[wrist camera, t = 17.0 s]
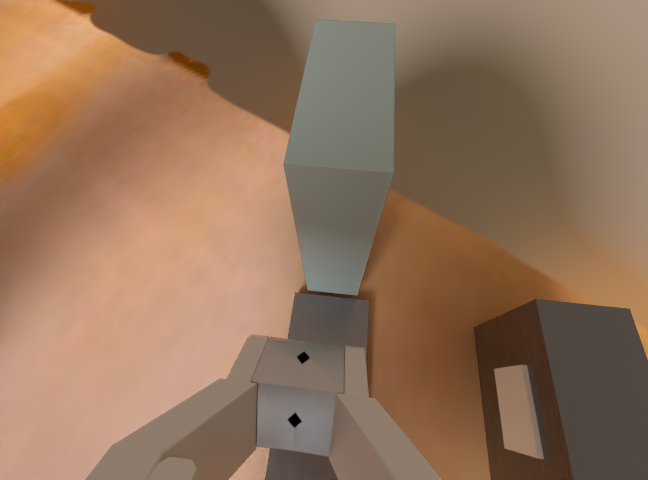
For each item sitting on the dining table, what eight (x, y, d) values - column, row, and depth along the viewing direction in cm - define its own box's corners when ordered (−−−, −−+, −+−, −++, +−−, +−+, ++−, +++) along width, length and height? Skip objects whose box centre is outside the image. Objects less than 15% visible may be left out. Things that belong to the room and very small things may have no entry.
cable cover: (307, 290, 24) (283, 163, 11) (321, 194, 29) (315, 19, 15) (357, 295, 24) (394, 172, 11) (363, 197, 28) (395, 23, 15)
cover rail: (262, 510, 19) (259, 516, 18) (296, 296, 25) (295, 292, 24) (357, 525, 19) (358, 531, 18) (367, 303, 25) (369, 300, 24)
